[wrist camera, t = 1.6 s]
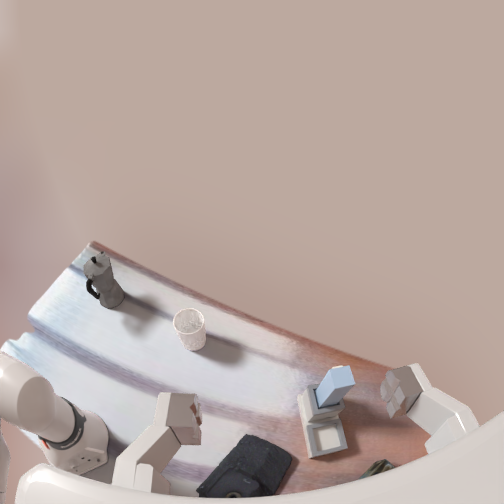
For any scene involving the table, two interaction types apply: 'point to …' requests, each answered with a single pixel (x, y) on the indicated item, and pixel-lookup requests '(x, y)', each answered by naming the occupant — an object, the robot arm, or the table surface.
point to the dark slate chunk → (247, 471)
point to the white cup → (190, 328)
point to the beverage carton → (377, 468)
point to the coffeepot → (103, 281)
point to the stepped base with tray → (321, 424)
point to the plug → (334, 386)
